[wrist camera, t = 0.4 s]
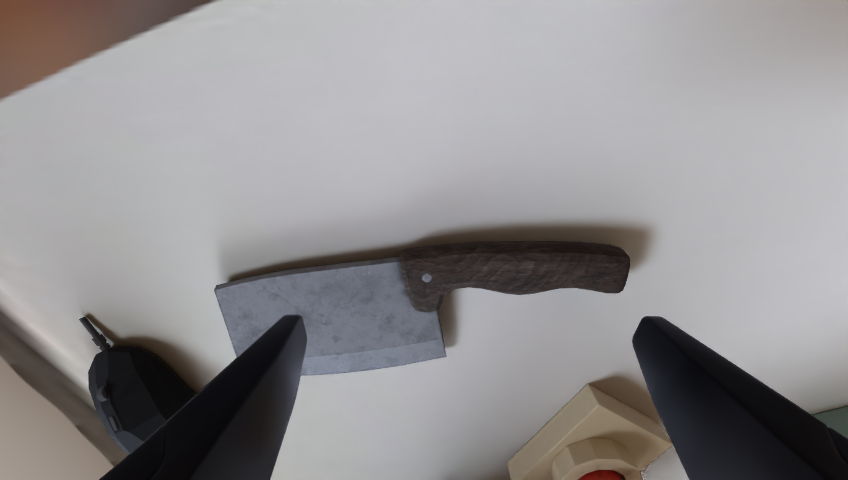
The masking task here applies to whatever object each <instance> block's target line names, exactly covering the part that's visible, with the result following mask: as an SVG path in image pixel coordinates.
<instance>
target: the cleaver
mask: <svg viewBox="0 0 848 480" xmlns="http://www.w3.org/2000/svg"><path fill="white" fill-rule="evenodd" d="M629 269H630V257H629V256H628V255H627V253H626V252H625V251H624V250H623V249H621V248H620V247H616V246H612V245H605V244H596V243H583V242H562V241H500V242H471V243H456V244H444V245H434V246H425V247H417V248H411V249H405V250H403V251H401V252H400V255H399V257H392V258H383V259H375V260H366V261H358V262H349V263H341V264H332V265H324V266H315V267H307V268H299V269H291V270H285V271H279V272H272V273H266V274H262V275H257V276H252V277H248V278H243V279H239V280H235V281H232V282H228V283H224V284H220V285H216V287H215V289H214V291H215V294H216V297H217V300H218V303H219V306H220V309H221V312H222V315H223V318H224V321H225V323H226V326H227V329H228V332H229V335H230V338H231V341H232V344H233V347H234V350H235V353H236V356H237V357H238V356H239V355H240V354H241V353H243V352H244V351H245V350H246V349H247V348H248V347H249V346H250V345H251V344H252V343H254V342H255V341H256V340H257V339H258V338H259V337H260V336H261V335H262V334H264V333H265V332H266V331H267V330H268V329H269V328H270V327H271V326H272V325H273V324H275V323H276V322H277V321H278V320H279V319H280V318H281V317H282V316H284V315H286V314H299V315H301V316H302V318H303V322H304V326H305V329H306V333H307V346H306V351H305V356H304V361H303V366H302V371H301V375H322V374H335V373H347V372H356V371H365V370H373V369H380V368H387V367H394V366H400V365H405V364H411V363H416V362H422V361H427V360H432V359H437V358H442V357H446V352H445V347H444V341H443V335H442V330H441V325H440V320H439V315H438V309H439V307H440V305H441V303H442V300H443V298H444V295H445V294H447V293H448V292H450V291H452V290H454V289H458V288H466V287H472V288H482V289H487V290H492V291H497V292H501V293H506V294H515V295H524V294H534V293H539V292H544V291H549V290H554V289H559V288H580V289H587V290H593V291H598V292H604V293H620V292H621V291H623V289H624V287H625V284H626V281H627V277H628V273H629Z"/></svg>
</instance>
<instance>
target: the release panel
mask: <svg viewBox="0 0 848 480" xmlns="http://www.w3.org/2000/svg"><path fill="white" fill-rule="evenodd" d="M672 445H673V443H672V442H671V440H670V439H669V438H668V436H667V435H666V433H665V432H664V431H663V429H662V428H661V426H660V425H659V424H658V422H656V421H654V420H652V419H651V418H649V417H647V416H645V415H643V414H641V413H640V412H638V411H636V410H634V409H632V408H631V407H629V406H627V405H625V404H623V403H621V402H620V401H618V400H616V399H614V398H612V397H611V396H609V395H607V394H605V393H603V392H601V391H600V390H598V389H596V388H594V387H592V386H591V385H589V384H587V385H586V386H585V387H584V388H583V389H582V390H581V391H580V392H579V393H578V394H577V395H576V396H575V397H574V398H573V399H571V400H570V401H569V402H568V403H567V404H566V405H565V406H564V407H563V408H562V409H561V410H560V411H559V412H558V413H557V414H556V415H555V416H554V417H553V418H552V419H551V420H550V421H549V422H548V423H547V424H546V425H545V426H544V427H543V428H542V429H541V430H540V431H539V432H538V433H537V434H536V435H535V436H534V437H533V438H532V439H531V440H530V441H529V442H528V443H527V444H526V445H525V446H524V447H523V448H522V449H521V450H519V451H518V452H517V453H516V454H515V455H514V456H513V457H512V458H511V459H510V460H509V461H508V462H507V464H508V468H509V473H510V477H511V480H579V479H580V478H581V477H582V476H583V475H584V474H587V473H590V472H593V471H596V470H614V471H616V472H617V473H618V474H619V475H620V477H621V479H622V480H643V478H642V476H641V474H640V471H642V470H643V469H644V468H645V467H647V466H648V465H649V464H650V463H651V462H653V461H654V460H655V459H656V458H658V457H659V456H660V455H661V454H663V453H664V452H665V451H666V450H667V449H669V448H670V447H671V446H672Z"/></svg>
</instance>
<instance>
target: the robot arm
mask: <svg viewBox="0 0 848 480" xmlns="http://www.w3.org/2000/svg"><path fill="white" fill-rule="evenodd" d="M632 343H633V348H634V350H635V353H636V356H637V359H638V362H639V365H640V367H641V370H642V373H643V376H644V379H645V382H646V384H647V387H648V390H649V393H650V395H651V398H652V400H653V403H654V405H655V407H656V410H657V412H658V414H659V416H660V418H661V420H662V422H663V424H664V427H665V429H666V431H667V433H668V435H669V437H670V439H671V441H672V443H673V446H674V448H675V450H676V452H677V454H678V456H679V458H680V460H681V463H682V465H683V467H684V469H685V471H686V473H687V475H688V477H689V480H848V438H846V437H845V436H843V435H842V434H840V433H839V432H837V431H836V430H834V429H833V428H831V427H827V425H826V424H825V423H823V422H822V421H820V420H819V419H817V418H816V417H814V416H812V415H811V414H809V413H808V412H806V411H805V410H803V409H802V408H800V407H799V406H797V405H796V404H794V403H793V402H791V401H790V400H788V399H787V398H785V397H783V396H782V395H780V394H779V393H777V392H776V391H774V390H773V389H771V388H770V387H768V386H767V385H765V384H764V383H762V382H761V381H759V380H758V379H756V378H754V377H753V376H751V375H750V374H748V373H747V372H745V371H744V370H742V369H741V368H739V367H738V366H736V365H735V364H733V363H732V362H730V361H728V360H727V359H725V358H724V357H722V356H721V355H719V354H718V353H716V352H715V351H713V350H712V349H710V348H709V347H707V346H706V345H704V344H703V343H701V342H699V341H698V340H696V339H695V338H693V337H692V336H690V335H689V334H687V333H686V332H684V331H683V330H681V329H680V328H678V327H677V326H675V325H674V324H672V323H670V322H669V321H667V320H666V319H664V318H663V317H659V316H646V317H644V318H642V319H641V321H640V323H639V325H638V327H637V329H636V331H635V333H634V335H633V339H632ZM306 346H307V333H306V329H305V326H304V322H303V318H302V316H301V315H299V314H286V315H284V316H282V317H281V318H280V319H279V320H278V321H277V322H276V323H275V324H273V325H272V326H271V327H270V328H269V329H268V330H267V331H266V332H265V333H264V334H262V335H261V336H260V337H259V338H258V339H257V340H256V341H255V342H254V343H252V344H251V345H250V346H249V347H248V348H247V349H246V350H245V351H244V352H243V353H241V354H240V355H239V356H238V357H237V358H236V359H235V360H234V361H233V362H231V363H230V364H229V365H228V366H227V367H226V368H225V369H224V370H223V371H222V372H220V373H219V374H218V375H217V376H216V377H215V378H214V379H213V380H212V381H211V382H209V383H208V384H207V385H206V386H205V387H204V388H203V389H202V390H201V391H199V392H198V393H197V394H196V395H195V396H194V397H193V398H192V399H191V400H190V401H188V402H187V403H186V404H185V405H184V406H183V407H182V408H181V409H180V410H178V411H177V412H176V413H175V414H174V415H173V416H172V417H171V418H170V419H169V420H167V421H166V423H165V425H162V426H161V427H159V428H158V429H157V430H156V431H155V432H154V433H153V434H152V435H151V436H150V437H148V438H147V439H146V440H145V441H144V442H143V443H142V444H141V445H139V446H138V447H137V448H136V449H135V450H134V451H133V452H131V453H130V454H129V455H128V456H127V457H126V458H124V459H123V460H122V461H121V462H120V463H119V464H117V465H116V466H115V467H114V468H113V469H111V470H110V471H109V472H108V473H107V474H105V475H104V476H103V477H102V478H100V479H99V480H270V478H271V475H272V472H273V469H274V466H275V463H276V460H277V456H278V453H279V450H280V447H281V444H282V441H283V438H284V435H285V432H286V428H287V425H288V422H289V419H290V416H291V413H292V410H293V406H294V403H295V399H296V395H297V391H298V386H299V381H300V376H301V371H302V366H303V361H304V356H305V351H306Z"/></svg>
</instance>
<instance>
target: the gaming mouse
mask: <svg viewBox="0 0 848 480" xmlns="http://www.w3.org/2000/svg"><path fill="white" fill-rule="evenodd" d="M79 320H80V321H81V323H82V324H83V325H84V327H85V328H86V329H87V330H88V332H89V333H90V334H91V335H92V337H93V339H92V340H93V341H94V343H95V344H96V345H97V346H100V349H101V351H102V352H100V353H98V354H96V356H95V357H94V360H93V362H92V364H91V367H90V369H89V372H88V375H89V390H90V393H91V396H92V399H93V402H94V405H95V408H96V410H97V412H98V414H99V416H100V418H101V420H102V422H103V424H104V426H105V428H106V430H107V432H108V434H109V435H110V436H111V438H112V439H113V440H114V441H115V442H116V443H117V444H118V445H119V447H120V448H121V449H122V450H123V451H125V452H127V453H129V454H130V453H131V452H133V451H134V450H135V449H136V448H137V447H138V446H139V445H141V444H142V443H143V442H144V441H145V440H146V439H147V438H148V437H150V436H151V435H152V434H153V433H154V432H155V431H156V430H157V429H158V428H159V427H161V426H162V425H165V423H166V421H167V420H169V419H170V418H171V417H172V416H173V415H174V414H175V413H176V412H177V411H178V410H180V409H181V408H182V407H183V406H184V405H185V404H186V403H187V402H188V401H190V400H191V399H192V398H193V397H194V396H195V394H194V393H193V392H192V391H191V390H190V389H189V388H188V387H187V386H186V385H185V384H184V383H183V382H182V381H181V380H180V379H179V378H178V377H177V376H176V375H175V374H174V373H173V372H172V371H171V370H170V369H169V368H168V367H167V366H166V365H165V364H164V363H163V362H162V361H161V360H160V359H159V358H157V357H156V356H155V355H153V354H151V353H149V352H147V351H145V350H143V349H140V348H138V347H136V346H116V347H112V348H110V345H109V343H106V341H107V340H106V339H105V337H104V336H103V335H102V334H101V335H99V333H98V332H97V331H96V329H95V328H94V327H93V326H92V324H91V323H90V322H89V321H88V319H87V318H86V317H83V318H81V319H79Z"/></svg>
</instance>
